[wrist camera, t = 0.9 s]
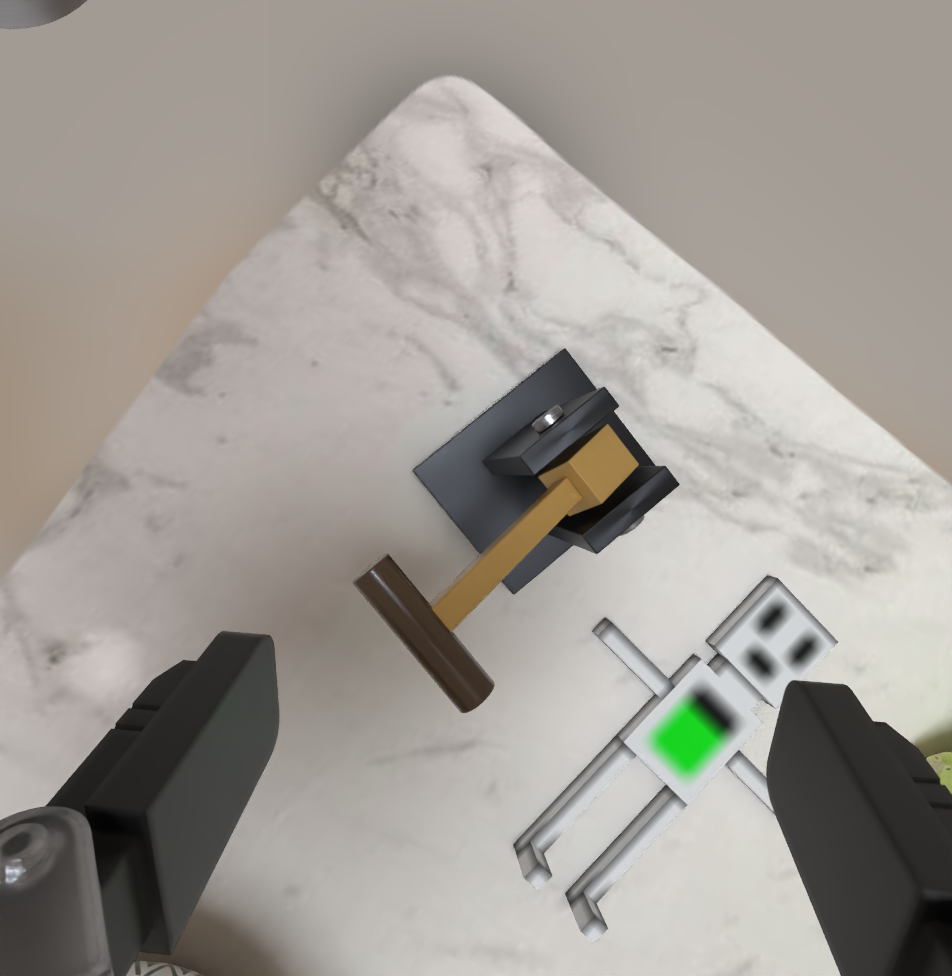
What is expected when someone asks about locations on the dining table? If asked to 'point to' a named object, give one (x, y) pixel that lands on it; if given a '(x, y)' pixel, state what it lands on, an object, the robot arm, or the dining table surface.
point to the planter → (158, 969)
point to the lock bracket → (538, 467)
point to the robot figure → (683, 733)
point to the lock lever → (491, 567)
